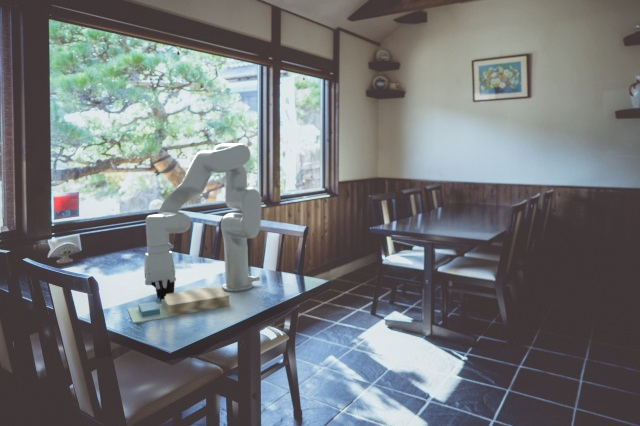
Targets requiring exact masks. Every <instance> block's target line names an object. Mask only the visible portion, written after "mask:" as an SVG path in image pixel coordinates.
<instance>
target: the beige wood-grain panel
mask: <svg viewBox="0 0 640 426" xmlns="http://www.w3.org/2000/svg"><path fill="white" fill-rule="evenodd" d="M161 303H162V305H163V307H164V308H165V310H166V311H167V313H168V315H169V316H170V317H172V316H180V315H184V314H191V313H195V312H196V313H197V312H202V311H207V310H215V309H220V308H224V307H225V308H226V307H230V295H229V293H227V291H226V290H223V289H222V287H220V286H219V285H217V286H209V287H204V288H197V289H190V290H184V291H179V292H177V291H176V292H174V293H169V294H166V296H165V299H162V300H161Z"/></svg>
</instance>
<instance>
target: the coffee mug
mask: <svg viewBox="0 0 640 426" xmlns="http://www.w3.org/2000/svg"><path fill="white" fill-rule="evenodd" d="M175 284H176V281H174V282H171V283H169V285H168V286H167V287H166V294H169V293H175ZM159 286H160V287H161V286H162V281H159ZM155 293H156V294H157V290H156V289H155ZM157 298H158V299H159V297H157Z"/></svg>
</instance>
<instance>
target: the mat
mask: <svg viewBox="0 0 640 426" xmlns="http://www.w3.org/2000/svg"><path fill="white" fill-rule="evenodd" d="M157 305H158V306H159V308H160V314H158V315H152V316H146V317H142V315H141V313H140V311H139V306H134V307H128V308H127V312H128V314H129V316H130V319H131V321H132V324H139V323H145V322H149V321H151V322H152V321H156V320H162V319H168V318H170V317H171V316H169V315H168V313H167V311H166V310H165V308H164V307H163V305H162V302H161V303H157Z"/></svg>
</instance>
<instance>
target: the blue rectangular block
mask: <svg viewBox="0 0 640 426" xmlns="http://www.w3.org/2000/svg"><path fill="white" fill-rule="evenodd" d="M157 304H158V303H157V302H156V301H151V302H150V301H149V302H144V303H138V305H137V307H139V311H140V313H141V315H142V317H146V316H152V315H158V314H160V308H159V306H158V305H157Z"/></svg>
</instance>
